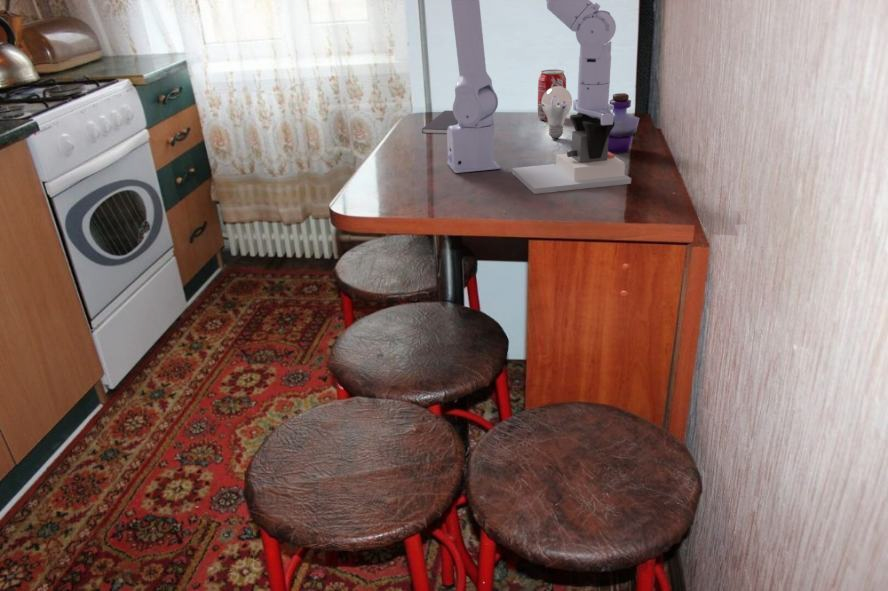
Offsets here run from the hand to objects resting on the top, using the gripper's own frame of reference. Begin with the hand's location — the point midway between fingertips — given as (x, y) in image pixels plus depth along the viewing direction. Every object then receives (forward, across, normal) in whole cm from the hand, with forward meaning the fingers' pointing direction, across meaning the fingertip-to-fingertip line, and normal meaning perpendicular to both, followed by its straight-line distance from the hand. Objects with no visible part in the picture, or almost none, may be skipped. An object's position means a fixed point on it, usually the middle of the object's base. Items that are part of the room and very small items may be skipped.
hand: (590, 154), depth 138 cm
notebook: (+5, +54, +14) cm, 56 cm away
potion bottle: (+4, +16, -13) cm, 21 cm away
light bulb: (+4, +30, -4) cm, 31 cm away
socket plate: (+3, 0, 0) cm, 3 cm away
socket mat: (+4, 0, +4) cm, 6 cm away
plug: (+2, 0, 0) cm, 2 cm away
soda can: (+4, +50, -10) cm, 51 cm away
